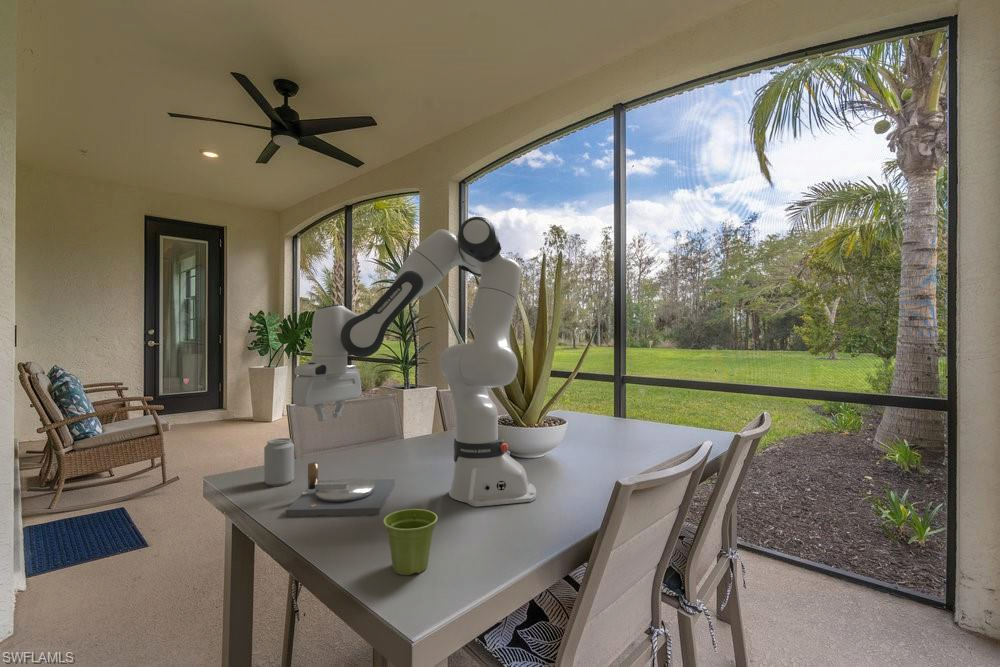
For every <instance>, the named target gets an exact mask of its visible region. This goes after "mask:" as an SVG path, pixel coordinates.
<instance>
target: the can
mask: <svg viewBox="0 0 1000 667" xmlns="http://www.w3.org/2000/svg"><path fill="white" fill-rule="evenodd" d="M263 448H264V449H263V450H264V457H263V458H264V459H263V460H264V462H263V463H264V465H263V468H264V469H263V473H264V475H263V476H264V478H263V479H264V483H265V484H266V485H267V486H269V487H281V486H280V485H282V486H285V484H286V485H288V484H287V483H289V482H290V483H291V482H293V481H294V479H295V444H294V443H293V442H292V439H291V438H289V437H281V438H280V437H279V438H273V439H269V440H267V441H266V445H264V446H263ZM290 483H289V484H290Z"/></svg>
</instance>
